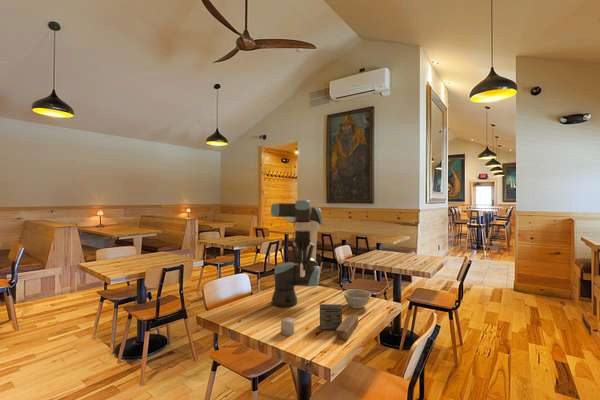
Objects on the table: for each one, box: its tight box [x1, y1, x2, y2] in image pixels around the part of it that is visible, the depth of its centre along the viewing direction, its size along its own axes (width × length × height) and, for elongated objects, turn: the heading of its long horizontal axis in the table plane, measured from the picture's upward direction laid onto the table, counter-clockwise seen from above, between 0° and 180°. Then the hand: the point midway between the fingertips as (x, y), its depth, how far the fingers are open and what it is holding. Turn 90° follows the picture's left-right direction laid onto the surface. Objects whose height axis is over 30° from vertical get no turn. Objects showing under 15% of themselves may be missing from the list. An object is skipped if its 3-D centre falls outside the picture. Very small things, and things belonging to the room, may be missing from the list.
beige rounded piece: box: [280, 317, 295, 337], centre depth 136 cm, size 6×6×6 cm
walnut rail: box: [335, 314, 359, 342], centre depth 138 cm, size 5×18×4 cm, turn 154°
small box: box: [319, 303, 343, 331], centre depth 142 cm, size 11×6×10 cm, turn 87°
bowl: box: [342, 288, 372, 309], centre depth 169 cm, size 16×16×8 cm
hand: (302, 276), depth 150 cm, fingers closed
